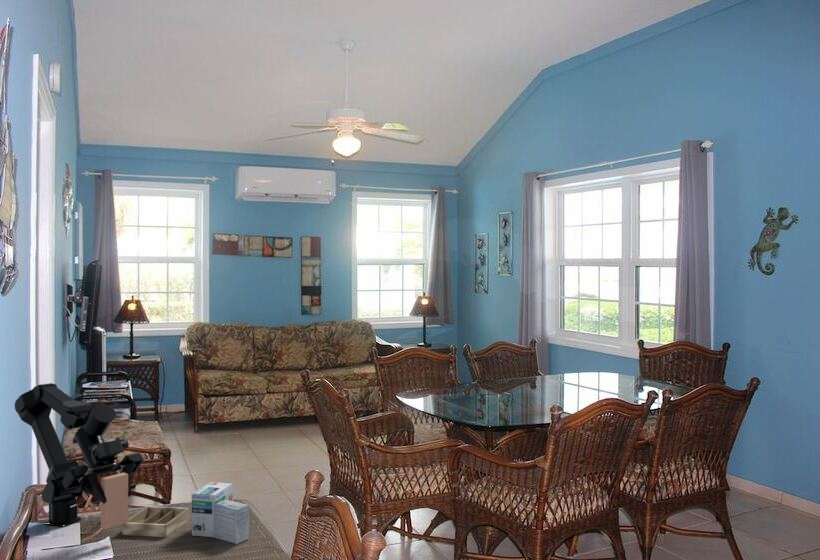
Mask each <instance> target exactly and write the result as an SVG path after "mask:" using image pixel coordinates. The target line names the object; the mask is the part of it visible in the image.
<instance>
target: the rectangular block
mask: <svg viewBox="0 0 820 560" xmlns="http://www.w3.org/2000/svg"><path fill="white" fill-rule="evenodd" d="M100 486H101V488H102V490H103V492H104V494H105V497H106V500H107V502H106V503H105V504H104V503H102V502H101V501H100V529H104V530H109V529H111V528H114V527H118V526H122V524H125V523H128V519H129V497H128V474H127V473H120V474H118V473H117V474H113V475H108V476H105V477H100Z"/></svg>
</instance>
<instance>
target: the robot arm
mask: <svg viewBox="0 0 820 560" xmlns="http://www.w3.org/2000/svg"><path fill="white" fill-rule="evenodd" d="M14 410H15V412H16V413H17V414H18V417H19V418H20V420H21V421H22V422H24V423H25V424H27V425H29V426H30V427H31V428H32V431H33V434H34V436H35V439H36V441H37V444H38V446H39V448H40V451H41V453H42V455H43V458H44V461H45V463H46V466H47V468H48V472H47V476H46V478H45V479H46V480H45V482H46V484H45V487H44V488H43V490H42V492H41V498H42V501H43V502H44V503H47V504H48V520H45V521H44V523H50V524H53V525H52V526H54V525H59V526H58V527H60V526H63V525H66V526H68V525H70V524H73V523H75V522H77V521H80V520H81V519H82V517H81V516H78V504H77V498H79V497H80V498H81V497H83V494H84V492H85V493H87V494H89V495H90V496H92V497H93V498H94V499H97V500H98V501H99V502H100V503H101V502H102V503H104V504H105V503H106V502H107V500H106V497H105V494H104V492H103V490H102V488H101V483H100V482H99V479H98V476H99V475H101V476H102V475H104V474H105V475H106V474H109V473H112V472H116V473H117V474H120V473H127V474H128V498H130V497H131V496H132V489H131V488H132V486H131V475H132V474H134V473H136V472H137V471H138V470H139V468H140V466H141V465H142V464H143V463H144V461H145V459H144V457H143V455H142V453H140V452H134V453H130V454H125V455H124V457H123V458H122V459H121V461H117V462H115V461H116V460H117V459H118V458H119V454H123V453H124V452H125V451H124V450H127V449H128V448H129V446H130V444H129V441H128V439H127V437H126V436H125V435H123V436H118V437H117V438H115V440H110V441H106V440H105V439H104V437H103V435H106V434H107V432H108V430H109V428H110V427H111V425H112V424H113V422H114V420H115V419H116V416H117V414H116V411H115V409H114V408H113V407H111V406H110V405H107V404H104V403H103V401H102V400H98V401H93V403H92V404H91V403H89V402H86V401H80V400H75V399H73V398H72V397H71V396H70V395H68V394H67V393H65V392H63V390H61V389H60V388H58V386H57V384H56V383H52V382H50V383H49V382H48V383H42V384H37V385H35V386H33V388H32V389H30V390H28V391H26V392H24V393H22V394H20V395H19V396H18V397H17V399H16V400H15V402H14ZM52 410H53V411H55V412H56V413H57V414H58V415H59V416H60V423H61V424H62V425H63V426H64V427H65V428H66V429H67V430H75V429H77V431H76V432H74V437H73V439H72V444H74V445H75V444H77V445H78V447H79V449H80V451H81V454H82V457H81V461H82V463H85V462H86V464H79V462H78V461H77V460H72V461H70V460H69V459H68V457H67V455H66V453H65V450H64V448H63V446H62V443H61V440H60V439H59V437H58V434H57V431H56V429H55V427H54V425H53V422H52V419H51V417H50V415H51V412H52ZM44 523H43V524H44ZM67 524H68V525H67ZM63 527H64V526H63Z"/></svg>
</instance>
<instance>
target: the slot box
mask: <svg viewBox="0 0 820 560" xmlns="http://www.w3.org/2000/svg"><path fill="white" fill-rule="evenodd" d="M190 513H191V510H190V507H174V506H173V507H172V506H171V507H170V506H152V505H147V506H145V507H144V508H142V509H141V510H139V511H138V512H136V513H135V514H134V515H132V516H130V517H128V523H125V524H122V525H121V535H122V536H139V537H140V536H141V537H157V538H158V537H159V538H160V537H161V538H167V537H169V536H170V535H171V534H173V533H174V532H176V531H177V530H178V529H179V528H180V527H182V526H183V525H185V524H186V523H187V522H188V521H189V520H190V518H191V517H190V516H191V514H190Z"/></svg>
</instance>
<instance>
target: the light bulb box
mask: <svg viewBox="0 0 820 560" xmlns="http://www.w3.org/2000/svg"><path fill="white" fill-rule="evenodd" d="M225 500H229V501H234V484H233V483H229V482H228V483H226V482H218V481H217V482H215V481H210V482H209V483H207V484H205V485H203V487H200V488H199V489H197V490H196V491H193V492H191V536H193V537H194V536H195V537H206V538H214V505H215V504H217V503H219V502H222V501H225Z"/></svg>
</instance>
